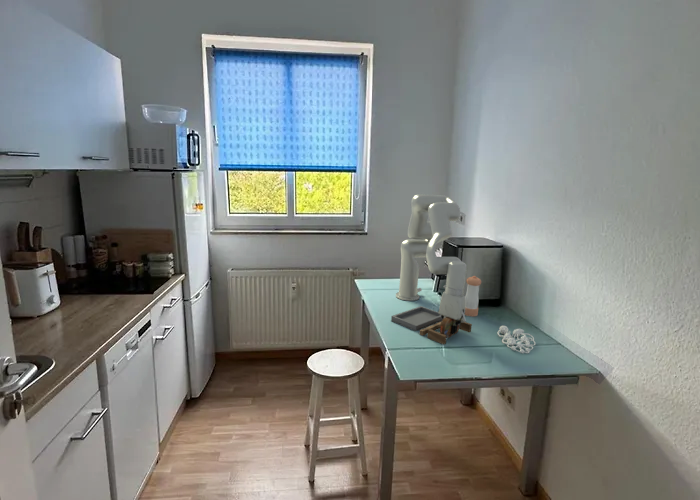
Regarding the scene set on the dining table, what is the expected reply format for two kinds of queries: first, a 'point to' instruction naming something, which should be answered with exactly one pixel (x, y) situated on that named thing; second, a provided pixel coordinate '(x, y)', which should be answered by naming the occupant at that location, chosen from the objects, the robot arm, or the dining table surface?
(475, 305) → the pepper shaker
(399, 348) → the dining table surface
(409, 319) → the tray
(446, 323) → the tin
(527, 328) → the dining table surface
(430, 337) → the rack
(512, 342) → the tangled rod sculpture
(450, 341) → the dining table surface
